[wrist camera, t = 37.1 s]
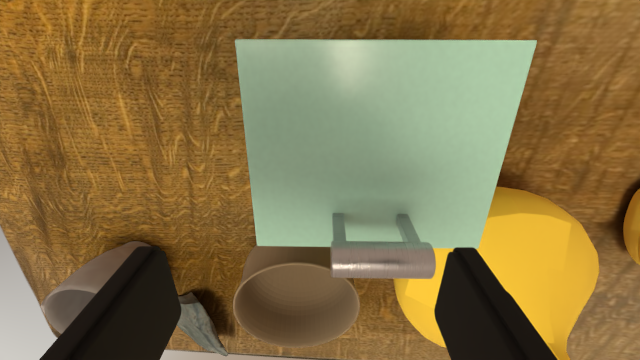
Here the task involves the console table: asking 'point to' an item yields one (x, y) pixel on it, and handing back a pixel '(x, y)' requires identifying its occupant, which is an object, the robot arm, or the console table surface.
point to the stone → (199, 324)
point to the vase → (521, 267)
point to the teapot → (633, 228)
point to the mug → (84, 286)
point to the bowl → (294, 297)
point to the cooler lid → (377, 145)
